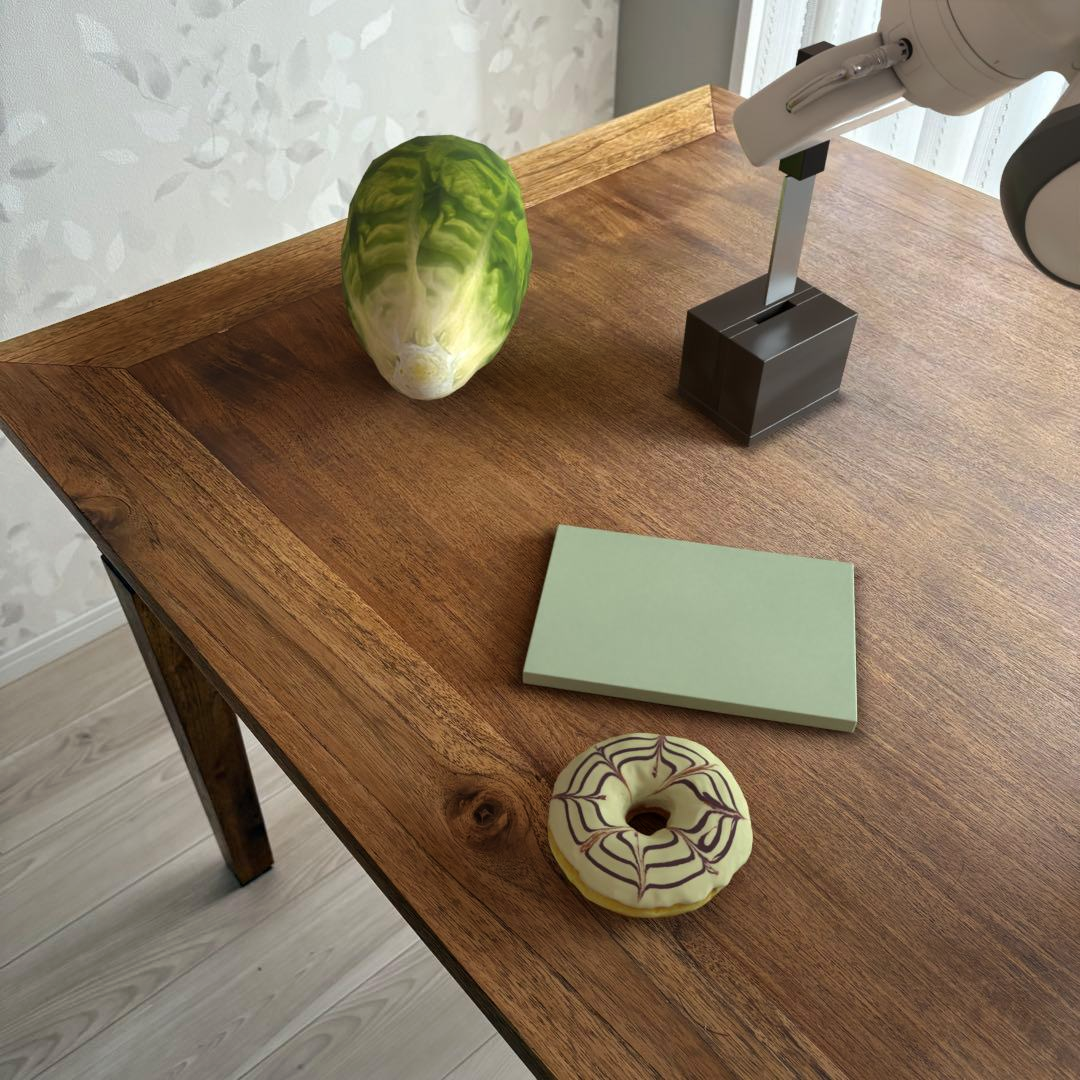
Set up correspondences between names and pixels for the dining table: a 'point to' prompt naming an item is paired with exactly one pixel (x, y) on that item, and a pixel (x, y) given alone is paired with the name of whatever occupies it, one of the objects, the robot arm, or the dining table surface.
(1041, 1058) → the dining table surface
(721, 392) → the knife block
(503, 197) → the lettuce
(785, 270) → the knife
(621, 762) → the decorated donut
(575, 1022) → the dining table surface
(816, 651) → the cutting board
